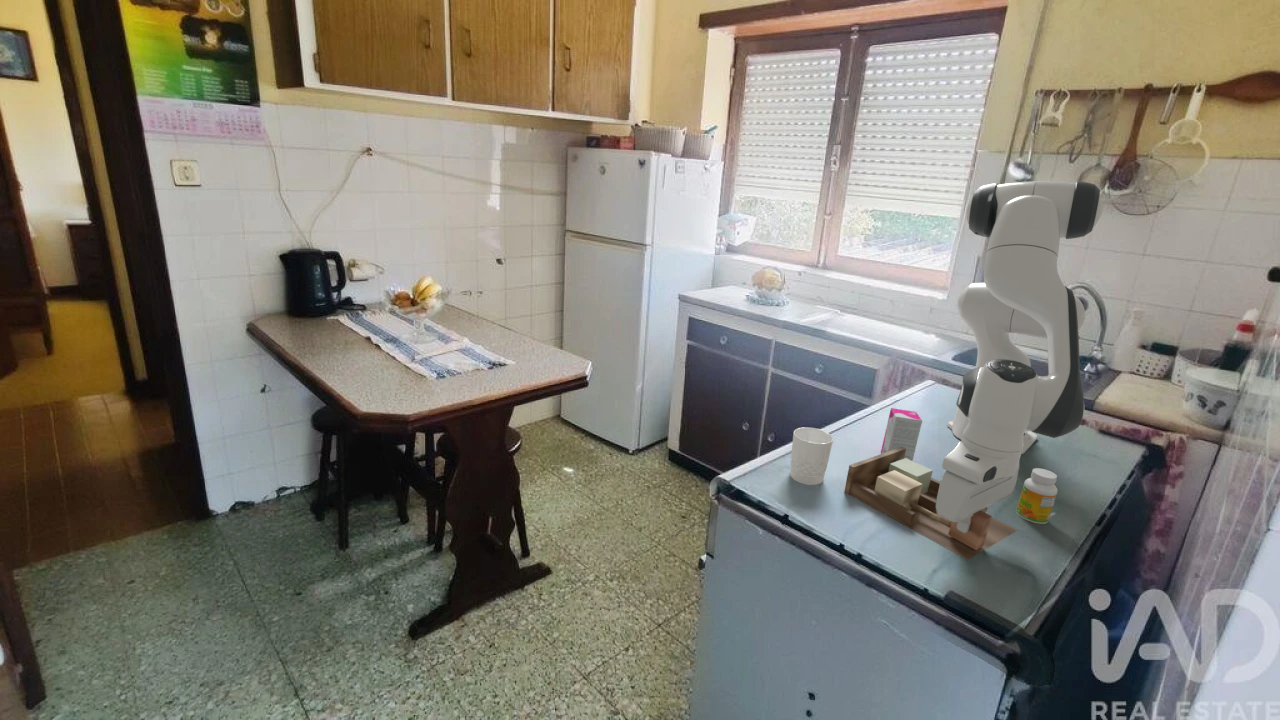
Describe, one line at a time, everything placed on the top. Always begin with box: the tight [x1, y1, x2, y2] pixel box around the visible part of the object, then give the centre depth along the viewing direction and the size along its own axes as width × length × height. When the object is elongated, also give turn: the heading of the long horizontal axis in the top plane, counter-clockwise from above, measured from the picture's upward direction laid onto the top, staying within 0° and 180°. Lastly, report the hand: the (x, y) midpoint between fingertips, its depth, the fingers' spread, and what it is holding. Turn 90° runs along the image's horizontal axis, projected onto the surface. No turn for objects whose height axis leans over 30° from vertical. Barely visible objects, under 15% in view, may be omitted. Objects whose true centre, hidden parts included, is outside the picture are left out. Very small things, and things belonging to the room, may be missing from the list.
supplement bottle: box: [1015, 467, 1058, 525], centre depth 114 cm, size 5×5×10 cm
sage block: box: [888, 458, 934, 494], centre depth 121 cm, size 6×6×5 cm
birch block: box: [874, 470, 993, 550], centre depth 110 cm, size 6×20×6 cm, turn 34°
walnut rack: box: [843, 447, 1018, 561], centre depth 114 cm, size 18×25×6 cm
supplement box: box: [880, 407, 923, 461], centre depth 134 cm, size 6×6×12 cm
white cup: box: [789, 426, 834, 486], centre depth 123 cm, size 8×8×10 cm
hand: (969, 527), depth 104 cm, fingers closed on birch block, 2 cm apart
